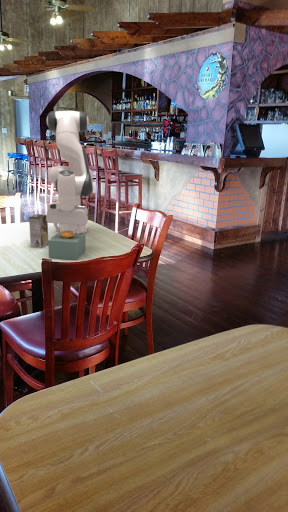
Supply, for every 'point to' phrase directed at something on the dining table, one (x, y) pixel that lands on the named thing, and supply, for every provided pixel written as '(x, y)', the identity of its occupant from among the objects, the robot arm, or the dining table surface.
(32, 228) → the coffee box
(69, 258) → the block
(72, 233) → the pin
